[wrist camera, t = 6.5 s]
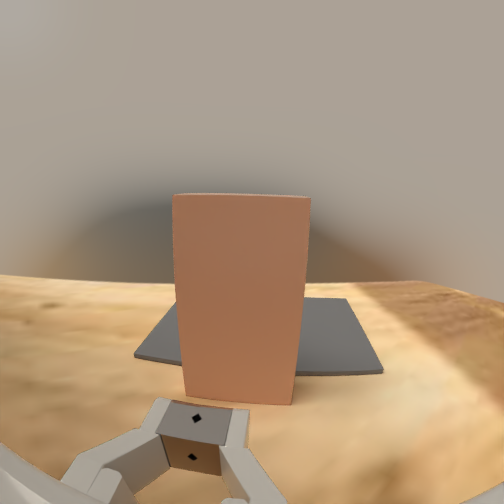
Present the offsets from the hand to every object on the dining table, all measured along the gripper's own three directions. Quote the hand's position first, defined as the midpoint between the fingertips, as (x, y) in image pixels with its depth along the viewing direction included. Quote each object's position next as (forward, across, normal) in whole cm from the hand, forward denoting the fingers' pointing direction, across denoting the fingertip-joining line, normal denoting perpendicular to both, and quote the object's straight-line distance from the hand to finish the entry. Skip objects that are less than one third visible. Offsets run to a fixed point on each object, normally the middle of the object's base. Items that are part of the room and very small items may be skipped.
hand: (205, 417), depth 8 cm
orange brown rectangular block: (+9, 0, +6) cm, 11 cm away
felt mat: (+19, -1, +6) cm, 20 cm away
